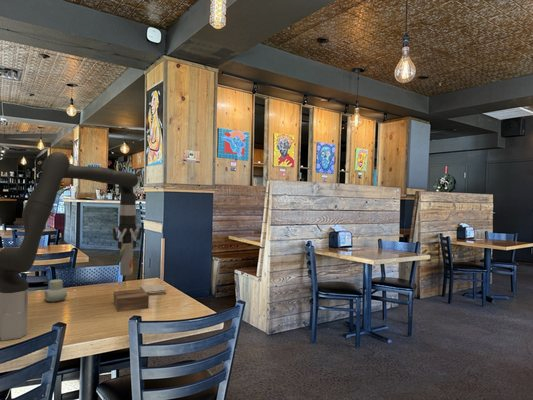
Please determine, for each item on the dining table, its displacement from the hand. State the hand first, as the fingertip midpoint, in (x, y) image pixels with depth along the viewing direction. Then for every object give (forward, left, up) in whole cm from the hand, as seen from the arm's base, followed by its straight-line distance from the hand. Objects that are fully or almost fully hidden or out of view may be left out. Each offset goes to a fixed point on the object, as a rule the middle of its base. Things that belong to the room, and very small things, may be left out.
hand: (126, 248), depth 179 cm
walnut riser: (0, -3, -28) cm, 28 cm away
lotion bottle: (0, 0, -13) cm, 13 cm away
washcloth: (+24, -19, -29) cm, 42 cm away
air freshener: (+24, +29, -28) cm, 47 cm away
